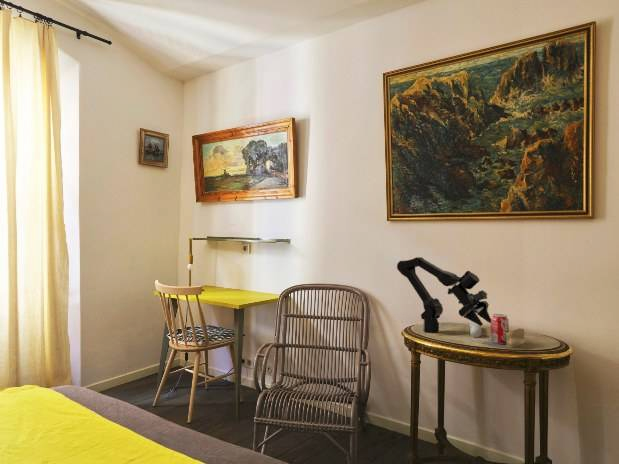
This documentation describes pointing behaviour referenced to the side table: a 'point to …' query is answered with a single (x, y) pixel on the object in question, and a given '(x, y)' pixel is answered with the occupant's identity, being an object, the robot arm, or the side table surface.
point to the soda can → (499, 328)
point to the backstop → (514, 338)
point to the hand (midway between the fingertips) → (486, 323)
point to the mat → (494, 343)
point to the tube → (474, 329)
